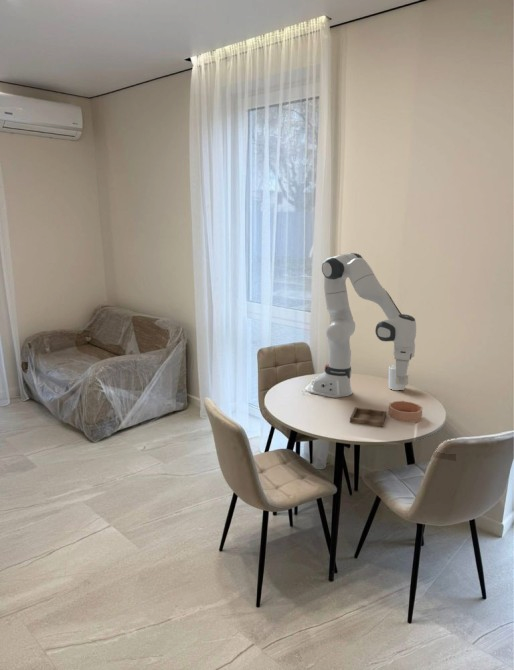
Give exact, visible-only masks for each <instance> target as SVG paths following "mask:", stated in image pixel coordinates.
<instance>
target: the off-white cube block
mask: <svg viewBox="0 0 514 670" xmlns="http://www.w3.org/2000/svg"><path fill="white" fill-rule="evenodd" d="M396 384H397V385H405V387H407V386H408V384H409V375H408V374H407V375H405V378H404V382H403V384H400V383H399V377H397V376H396Z"/></svg>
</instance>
